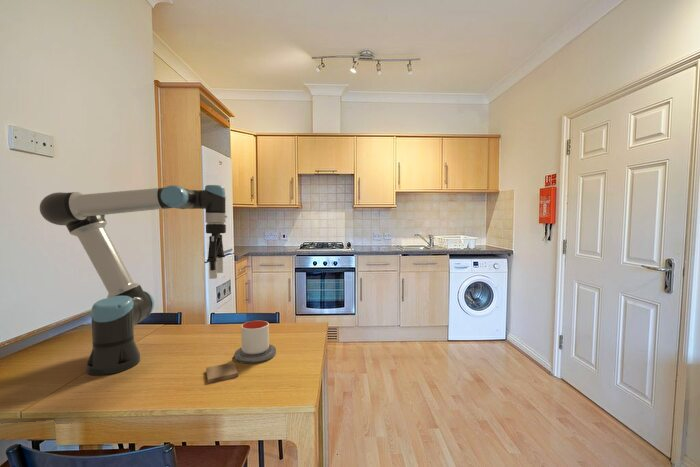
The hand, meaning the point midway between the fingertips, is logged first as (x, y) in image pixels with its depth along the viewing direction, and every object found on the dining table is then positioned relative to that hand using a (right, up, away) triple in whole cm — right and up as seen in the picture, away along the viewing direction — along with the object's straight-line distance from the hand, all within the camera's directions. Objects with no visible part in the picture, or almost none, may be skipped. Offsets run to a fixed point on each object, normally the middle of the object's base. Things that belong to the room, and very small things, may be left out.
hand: (216, 275), depth 129 cm
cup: (+19, -28, -9) cm, 34 cm away
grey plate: (+19, -29, -9) cm, 36 cm away
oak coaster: (+12, -30, -24) cm, 40 cm away
